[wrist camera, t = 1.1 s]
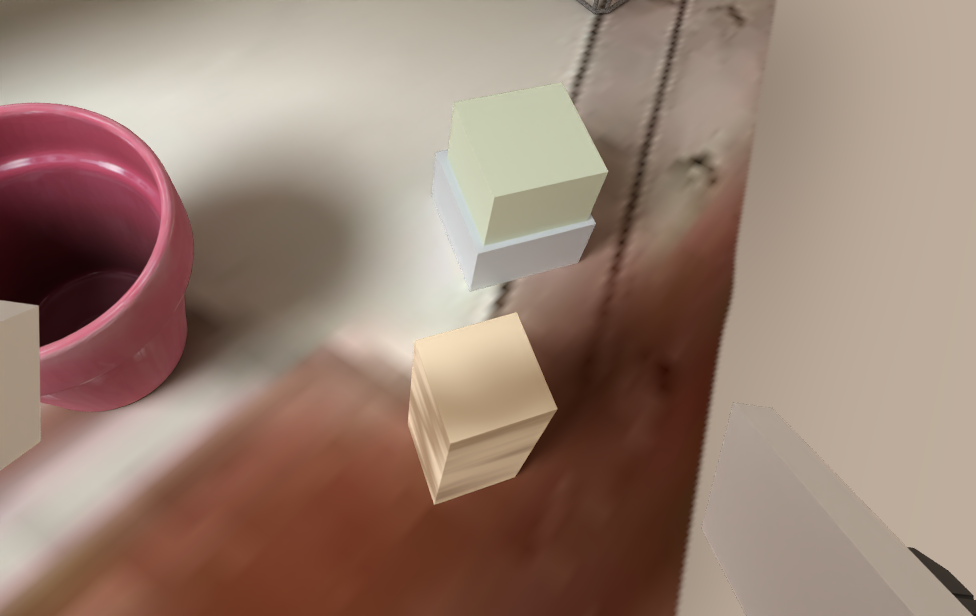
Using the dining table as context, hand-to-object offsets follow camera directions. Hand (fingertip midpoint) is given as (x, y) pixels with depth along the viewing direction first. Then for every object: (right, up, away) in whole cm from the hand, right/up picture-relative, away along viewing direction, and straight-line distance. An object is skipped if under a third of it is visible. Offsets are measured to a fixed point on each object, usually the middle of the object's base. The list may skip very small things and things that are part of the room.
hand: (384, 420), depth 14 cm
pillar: (0, -6, +29) cm, 30 cm away
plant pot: (-21, 0, +30) cm, 36 cm away
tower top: (+4, +10, +32) cm, 34 cm away
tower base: (+3, +8, +37) cm, 38 cm away
